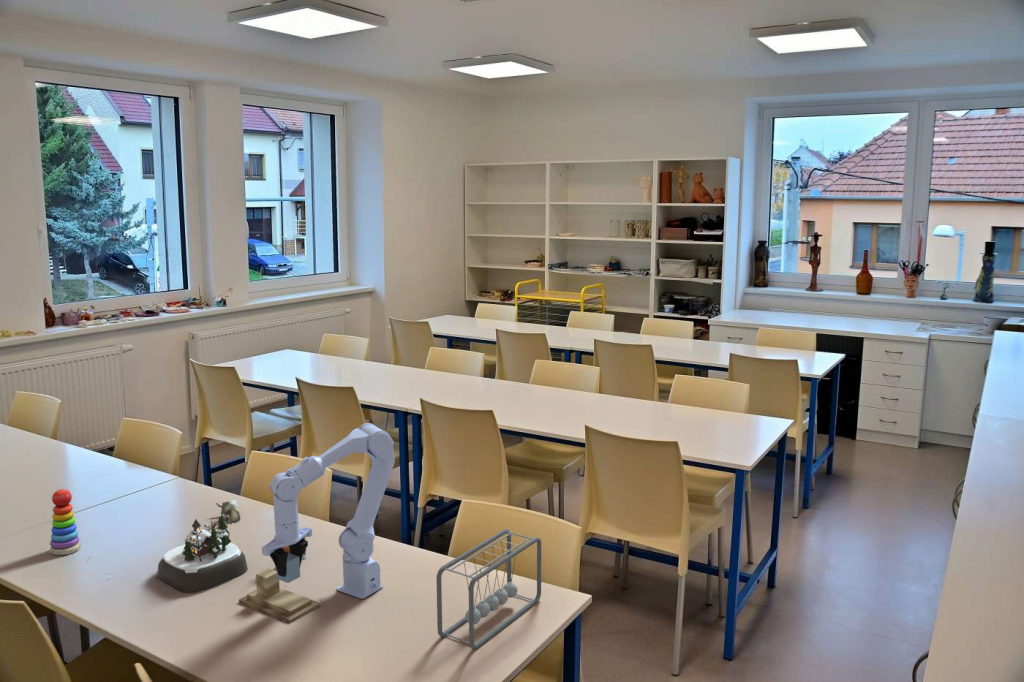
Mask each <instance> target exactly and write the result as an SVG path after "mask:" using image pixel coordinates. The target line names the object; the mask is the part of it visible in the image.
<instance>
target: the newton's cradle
mask: <svg viewBox="0 0 1024 682" xmlns="http://www.w3.org/2000/svg"><path fill="white" fill-rule="evenodd" d="M512 535H513V536H517V537H521V538H525V539H524V540H523V541H522V542H520V543H518V544H516V543H512ZM505 538H506V541H505V540H504V539H505ZM499 542H500V544H501V547H499V546H496V544H497V543H499ZM502 542H505V543H506V548H503V547H504V546H503V543H502ZM535 543H536V596H535V597H534V598H529V597H527V596H524V595H521V594H518V586H517V585H516V584H515V583H514V582H513V576H514V570H515V566H513V568H512V559H513V558H514V561H513V565H516V564H515V563H516V562H515V561H516V557H517V556H518V555H519V554H520V553H521V552H524V551H525V550H527V549H528V548H531V546H533V545H534V544H535ZM489 544H490V545H489ZM522 544H523V545H522ZM512 545H515V546H514V547H512ZM520 545H521V546H520ZM519 546H520V547H519ZM494 547H495V548H500V549H502V553H503V554H501V555H497V554H495V553H494ZM490 548H492V553H491V552H487V551H486V550H488V549H490ZM479 550H480V551H479ZM504 550H505V551H506V552H504ZM481 553H482V554H483V558H479V557H476V556H479V554H481ZM485 553H487V554H490V555H493V560H492V561H489V560H486V558H485ZM472 554H473V555H472ZM470 555H471V556H470ZM505 555H506V556H505ZM495 556H497V557H496V558H495ZM467 557H468V558H467ZM475 558H476V559H478V560H482V561H484V566H482V567H479V566H476V559H475ZM471 559H473V562H474V565H473V564H470V563H467V562H468V561H470V560H471ZM497 560H498V561H497ZM496 561H497V562H496ZM459 562H460V563H459ZM486 562H488V563H487V564H486ZM462 564H463V566H464V571H465V573H462V572H458V571H456V570H454V569H457V568H458V567H459V566H461V565H462ZM466 564H467V565H470V566H472V567H475V571H474V572H472V573H471V574H469V575H468V574H467V570H466ZM491 564H492V565H491ZM502 565H505V566H504V567H505V568H504V574H503V578H502V579H503V580H502V584H501V588H500V587H498V589H496V590H495V588H496V584H494V585H493V590H492V591H493V592H492V594H491V588H490V582H489V574H490V573H491V572H493V571H494V570H495V572H496V574H495V578H494V579H495V580H494V583H496V581H497V580H499V576H498V571H499V570H498V569H499V567H501V566H502ZM488 566H489V567H488ZM477 568H478V569H477ZM483 569H484V570H483ZM445 571H448V572H451V573H455V574H457V575H461V576H463V577H466V583H467V589H468V609H467V610H466V611H465V615H464V617H463V618H461V619H459V620H458V621H456V622H455V623H454V624H453V625H451V626H450V627H449V628H446V629H445V630H444V631H443V602H442V601H443V599H442V598H443V597H442V592H443V591H442V589H443V587H442V576H443V574H444V572H445ZM475 574H476V575H475ZM474 575H475V576H474ZM505 575H506V583H505V584H504V581H505ZM485 576H486V578H487V579H486V582H487V583H486V586H485V588H487V587H488V591H489V595H488V596H486V595H484V596H483V601H482V595H481V590H480V584H479V583H480V579H482V578H483V577H485ZM468 578H469V579H471V580H470V582H469V581H468ZM476 582H477V587H476V595H475V593H474V591H475V590H474V588H475V584H476ZM497 586H500V583H499V581H497ZM478 592H479V598H480V601H479V602H477V596H478ZM486 592H487V589H485V590H484V594H487V593H486ZM474 595H475V596H474ZM515 596H516V597H520V598H523V599H525V600H529V601H530V602H528V603H527V604H525V605H524V606H523V607H521V609H519V610H518V611H516V612H515V613H514V614H512V615H511V616H509V618H507V619H506V620H505V621H503V622H502V623H501V624H499V625H498V626H497V627H496V628H494V629H493V630H491V631H490V632H488V633H487V634H486V635H485V636H483V637H482V638H481V639H480V640H477V642H475V625H476V624H478V623H479V622H480V621H481V618H482V619H483V618H487V617H488V616H489V615H490V612H495V611H497V609H499V606H500V605H504V604H507V602H508V599H511V598H513V597H515ZM541 596H542V540H541V538H540V537H539V536H538V537H537V536H536V537H534V538H533V537H530V536H525V535H521V534H518V533H514V532H512V531H511V530H510V529H509V528H505V529H503V530H500V531H499V532H498V533H496V534H494V535H493V536H491V537H489V538H487V539H486V540H484V541H483V542H481V543H479V544H477V545H476V546H474V547H472V548H470V549H469V550H467V551H466V552H463V553H462V554H460V555H459V556H457V557H455V558H453V559H452V560H450V561H449V562H447V563H445V564H444V565H442V566H441V567H440V568H439V569H438V571H437V573H436V611H437V612H436V613H437V614H436V618H437V622H436V623H437V634H438V636H439V637H441V638H445V637H450V638H453V639H455V640H457V641H461V642H463V643H465V644H468V645H469V646H470V648H471V650H477V649H478V648H480V647H481V646H482V645H484V644H485V643H486V642H488V641H489V640H490V639H492V638H493V637H494V636H496V635H497V634H498V633H499V632H500V631H503V630H504V629H505V628H506V627H507V626H508V625H510V624H511V623H512V622H514V621H515V620H517V618H518V617H521V616H522V615H524V613H526V612H527V611H528V610H530V609H531V608H532V607H533V606H534V605H536V604H537V603H538V602H539V601H540V599H541ZM474 599H475V600H474ZM476 602H477V603H476ZM466 622H467V623H468V637H469V638H468V640H469V641H467V640H464V639H462V638H460V637H456V636H454V635H453V634H452V635H451V633H452V632H454V631H455V630H457V629H458V628H459V627H461V626H463V624H465V623H466Z"/></svg>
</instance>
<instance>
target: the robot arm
mask: <svg viewBox="0 0 1024 682" xmlns="http://www.w3.org/2000/svg"><path fill="white" fill-rule="evenodd" d="M394 444H395V441H394V440H393V438H392V436H391V435H390V433H388V432H387V431H386V430H383V429H381V428H379V427H377V425H375V424H374V423H370V422H366V423H363V424H361V425H360V426H359V427H357V428H355V429H352V431H351V432H349V434H348V435H347V436H346V437H344V438H343V439H341V440H340V441H338V442H337V443H336V444H334V445H333V446H331V447H330V448H329V449H328V450H327V449H326V450H325V452H323V453H322V454H320V455H319V456H315V455H311V456H309V457H308V456H304V457H303V458H302V461H301V462H299V463H298V464H296V465H295V466H293V467H291V468H288V469H286V470H285V472H279V473H277V474H275V475H274V476H273V477H272V479H271V481H270V484H269V489H270V491H271V492H272V493H273V512H274V513H273V514H274V515H273V516H274V517H273V518H274V533H275V534H274V535H273V536H274V537H273V539H271V540H270V541H268V543H266V544H264V545H263V546H261V555H263V556H266V557H268V556H269V555H270V556H269V557H270V558H271V561H272V562H273V563H274V566H275V569H276V571H277V572H278V575H279V576H282V577H285V576H286V562H287V557H288V554H289V553H288V552H285V551H284V549H283V547H285V546H289V549H290V553H291V554H293V555H296V556H299V563H300V567H301V566H302V565H301V564H302V561H303V554H304V552H305V549H306V550H307V547H308V546H309V542H308V540H304V538H310V537H312V536H313V529H312V528H310V527H308V526H306V527H303V528H301V529H300V527H299V526H300V523H299V504H298V496H300V495H299V494H300V493H301V491H302V489H304V488H306V487H307V486H309V485H311V483H313V482H315V481H316V480H317V479H319V478H321V477H322V476H324V474H325V471H326V469H327V468H328V467H330V466H332V465H334V464H335V463H337V462H339V461H340V460H342V459H344V458H346V457H347V456H349V455H351V454H353V453H356V454H357V453H358V454H368V455H369V457H370V459H371V461H372V465H371V468H370V470H369V473H368V476H367V478H366V482H365V485H364V488H363V489H362V492H361V496H360V497H359V498H360V499H359V502H358V505H357V508H356V510H355V513H354V516H353V518H352V519H350V520H349V521H347V523H346V526H345V528H344V529H343V531H341V533H340V534H339V536H338V545H339V546H340V548H341V549H342V550H343V553H342V572H343V573H342V575H343V577H342V578H343V584H342V585H340V586H338V587H337V588H336V591H339V592H341V593H344V594H347V595H350V596H353V597H354V598H355V597H356V598H358V599H361V600H363V599H366V598H367V597H369V596H371V595H372V594H374V593H376V592H377V591H379V590H381V589H382V588H383V587H384V586H383V585H382V584H381V567H380V564H379V562H377V561H376V560H374V559H373V558H372V555H373V552H374V550H375V549H374V540H375V536H376V535H375V529H374V524H375V520H376V518H377V515H378V512H379V508H380V506H381V503H382V500H383V497H384V495H385V491H386V489H387V487H388V483H389V480H390V477H391V474H392V471H393V468H394V465H395V462H396V459H395V458H396V457H395V451H394V446H395V445H394Z"/></svg>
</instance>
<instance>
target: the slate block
mask: <svg viewBox="0 0 1024 682" xmlns="http://www.w3.org/2000/svg"><path fill="white" fill-rule="evenodd" d="M299 578H301V566H300V563H299V556H296V555H293V554H290V553H289V554H288V557H287V562H286V576H285V577H282V576H279V575H278V572H277V579H278V580H279V581H281V582H284V583H287V584H289V583H291V582H293V581H296V580H298V579H299Z"/></svg>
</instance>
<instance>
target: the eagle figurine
mask: <svg viewBox="0 0 1024 682" xmlns="http://www.w3.org/2000/svg"><path fill="white" fill-rule="evenodd" d="M215 505H216V506H217V507H219V508H220V509H221V511H220V514H221V513H222V516H223V517H224V518H225V519H226V517H228V519H227V524H229V525H233V524H232V523H235V524H237V523H238V522H240V520H241V515H240V512H239V510H237V508H238V507H239V506H238V501H237V500H235V499H231V500H230V501H229V500H228V501H223V502H222V505H221V504H219V503H218V502H215ZM236 522H237V523H236Z"/></svg>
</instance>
